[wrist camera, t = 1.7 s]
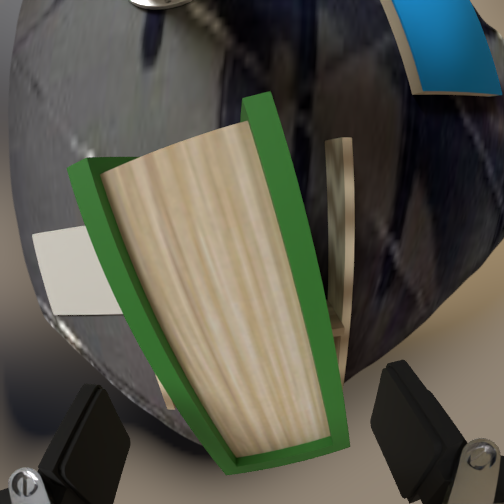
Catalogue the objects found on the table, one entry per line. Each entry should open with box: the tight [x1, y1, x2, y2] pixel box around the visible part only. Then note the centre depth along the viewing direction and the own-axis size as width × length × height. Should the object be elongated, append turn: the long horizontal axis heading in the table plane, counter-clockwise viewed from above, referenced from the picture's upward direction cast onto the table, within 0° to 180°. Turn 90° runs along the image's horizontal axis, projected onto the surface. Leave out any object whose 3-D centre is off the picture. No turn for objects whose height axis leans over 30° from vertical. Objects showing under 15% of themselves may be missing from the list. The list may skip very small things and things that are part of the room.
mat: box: [32, 226, 123, 315], centre depth 35 cm, size 12×14×1 cm
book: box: [380, 0, 502, 97], centre depth 25 cm, size 17×4×25 cm
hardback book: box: [67, 91, 350, 475], centre depth 23 cm, size 18×7×24 cm, turn 16°
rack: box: [156, 137, 355, 409], centre depth 33 cm, size 31×23×7 cm
